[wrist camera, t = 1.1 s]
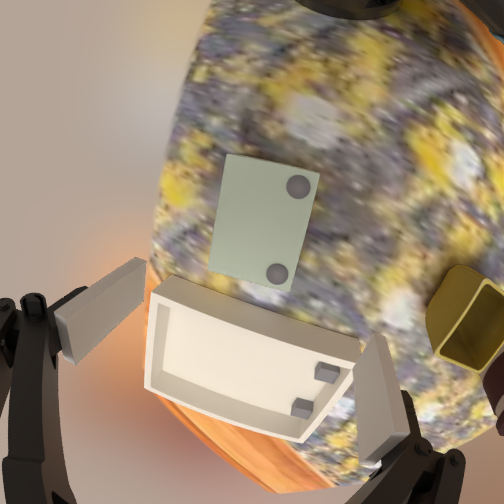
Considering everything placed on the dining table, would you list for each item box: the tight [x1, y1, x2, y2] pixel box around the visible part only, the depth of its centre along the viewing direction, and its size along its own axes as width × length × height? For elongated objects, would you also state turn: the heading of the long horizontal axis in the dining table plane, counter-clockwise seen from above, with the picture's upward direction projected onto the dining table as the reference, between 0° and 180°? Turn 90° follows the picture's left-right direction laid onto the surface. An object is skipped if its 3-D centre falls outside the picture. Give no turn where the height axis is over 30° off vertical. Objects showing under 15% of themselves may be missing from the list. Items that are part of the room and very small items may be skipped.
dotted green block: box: [207, 154, 320, 292], centre depth 27 cm, size 11×8×5 cm
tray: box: [144, 274, 361, 444], centre depth 33 cm, size 17×24×5 cm
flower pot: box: [426, 265, 504, 373], centre depth 23 cm, size 9×9×9 cm
